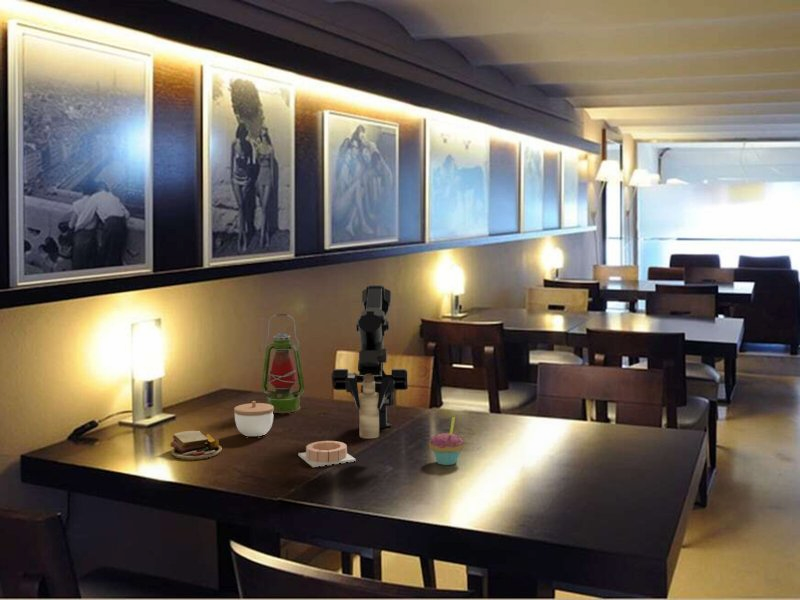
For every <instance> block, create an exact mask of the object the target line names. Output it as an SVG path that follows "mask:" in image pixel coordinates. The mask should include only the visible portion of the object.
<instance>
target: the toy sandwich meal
mask: <svg viewBox="0 0 800 600" xmlns="http://www.w3.org/2000/svg"><path fill="white" fill-rule="evenodd" d="M172 439H173V440H172V441H171V442H170V447H171V448H172V450H171V451H170V452H171V454H172V456H174V457H175V458H176V457H177V458H176V459H179V458H180V460H188V461H190V460H191V461H194V460H195V459H196V460H203V459H204V458H205V459H208V457H209V458H212V456H213V457H215V456H217V455H219V453H220V452H221V451H222V449H223V448H222V446H221V445H219V441H220V440H219V439H214V438H213V437H212V436H211V434H209V433H207V434H206V435H204V434H203V433H202V432H201V431H200V430H185V431H179V432H175V433H174V434H173V435H172Z"/></svg>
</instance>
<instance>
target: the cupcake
mask: <svg viewBox="0 0 800 600" xmlns="http://www.w3.org/2000/svg"><path fill="white" fill-rule="evenodd" d="M455 416H456V414H453V417H451V421H450V422H451V423H450V427H449V428H450V430H449V432H447V433H446V432H444V433H443V432H442V433H438V434H435V435H434V436H432V437H431V438H430V439H429V442H428V447H429V450H431V451H432V452H433V455H434V457H435V460H436V462H437V464H439V465H443V466H449V465H450V466H451V465H455V464H457V462H458V458H459V455H460V453H461V451H463V449H464V448H465V447H464V446H465V444H466V443H465V441H464V440H463V439H462V437H460V436H459V435H457V434H454V433H453V432H454V426H455V420H456V417H455Z"/></svg>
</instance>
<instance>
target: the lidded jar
mask: <svg viewBox="0 0 800 600" xmlns="http://www.w3.org/2000/svg"><path fill="white" fill-rule="evenodd" d="M273 411H274V407H273V406H272V405H270V404H267V403H266V402H265V403H261V402H256V400H253V401H251V403H250V402H249V403H243V404H239V405H237V406H235V407H234V409H233V413H234V422H235V426H236V428H237V430H238V432H240V433H241V434H242V435H245V436H262V435H265V434H267V433H268V432H269V431H270V430H271V429H272V426H273V422H274V414H273ZM265 436H266V435H265Z"/></svg>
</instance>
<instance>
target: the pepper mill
mask: <svg viewBox="0 0 800 600" xmlns="http://www.w3.org/2000/svg"><path fill="white" fill-rule="evenodd" d="M363 380H364V381H363V383H362V385H363V392H361V391H360V392H358V395H359V409H358V413H359V415H358V418H359V420H358V421H359V423H358V424H359V427H358V428H359V437H360V438H362V439H376V438H378V437H380V428H379V408H378V404H379V393H378V392H375V381H374V376H373V375H372V374H370V373H367V374H365V375H364V378H363Z"/></svg>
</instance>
